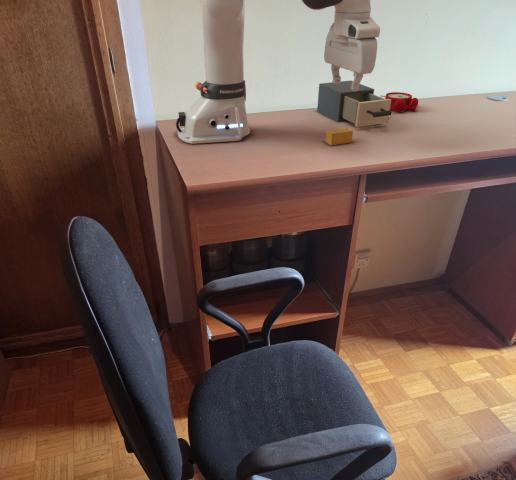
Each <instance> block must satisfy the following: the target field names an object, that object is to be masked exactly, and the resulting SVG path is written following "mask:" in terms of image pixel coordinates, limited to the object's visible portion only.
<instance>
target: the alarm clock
mask: <svg viewBox="0 0 516 480" xmlns="http://www.w3.org/2000/svg"><path fill="white" fill-rule="evenodd" d="M381 98H384V99H391V104H390V110H391V111H394V112H395V113H398V114H399V113H403V112H405V111H410V112H414V111H416V109H418V106H419V99H418V98H417V97H413V94H410V93H408V92H399V91H392V92H388V93H385V95H381Z"/></svg>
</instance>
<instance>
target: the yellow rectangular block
mask: <svg viewBox="0 0 516 480" xmlns="http://www.w3.org/2000/svg"><path fill="white" fill-rule="evenodd" d="M353 135H354V130H352V129H350V128H348V127H344V128H334V129H329V130H326V131H325V140H324V142H325V143H326V144H328V145H329V146H337V145H342V144H350V143H352V142H353Z"/></svg>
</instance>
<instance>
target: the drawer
mask: <svg viewBox="0 0 516 480" xmlns="http://www.w3.org/2000/svg"><path fill="white" fill-rule="evenodd" d="M390 104H391V99H385V97H382V96H379V95H375V94H374V95H373V94H371V93H358V94H349V95H343V98H342V107H341V116H340V117H342V118H344V119H346V120H348V122H350V123H352V124H354V127H355V128H361V127H367V126H375V125H382V124H388V121H389V116H392V114H393V110H390Z"/></svg>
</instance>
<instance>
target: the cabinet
mask: <svg viewBox="0 0 516 480" xmlns="http://www.w3.org/2000/svg"><path fill="white" fill-rule="evenodd" d="M340 81H341V80H340ZM351 83H353V80H342V81H341V82H340V84H334V83H333V81H331V82H321V83H319V84H318V92H317V93H318V94H317V107H316V108H317V109H316V111H317V112H318V113H320V114H322V115H324V116H326V117H328V118H330V119H331V120H333V121H335V122H338V123H339V122H346V121H348V120H346V119H344V118H342V117H340V116H341V107H342V98H343V95H349V94H358V93H371V94H373V95H375V88H372V87H369V86H366V85H364V84H361V83H359V90H358V91H351V90H350V87H351V86H350V85H351ZM348 122H349V121H348Z"/></svg>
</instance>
